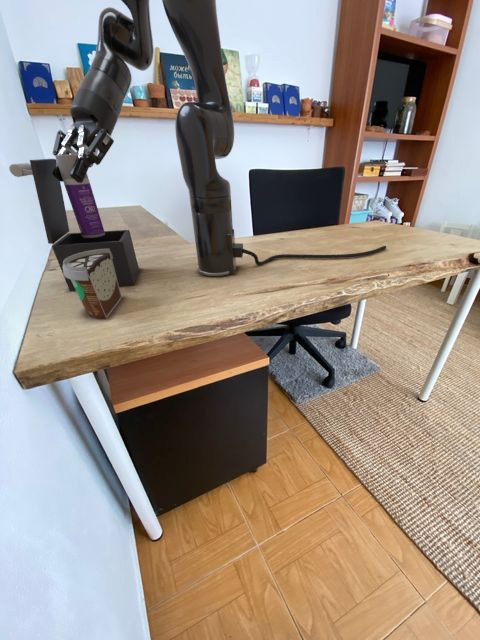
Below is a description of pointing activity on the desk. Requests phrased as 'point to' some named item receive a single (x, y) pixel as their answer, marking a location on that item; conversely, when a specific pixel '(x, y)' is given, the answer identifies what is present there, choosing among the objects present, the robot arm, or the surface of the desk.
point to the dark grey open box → (111, 240)
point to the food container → (94, 281)
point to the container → (81, 199)
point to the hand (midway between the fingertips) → (67, 178)
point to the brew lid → (46, 195)
